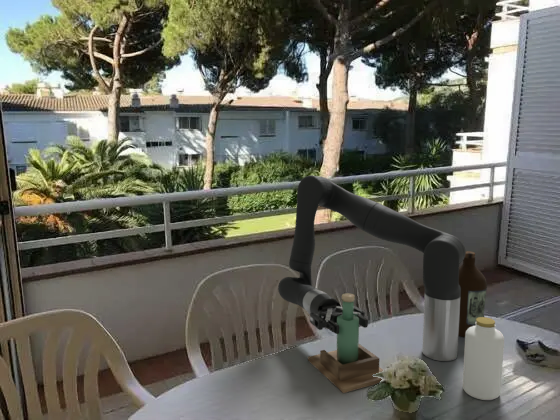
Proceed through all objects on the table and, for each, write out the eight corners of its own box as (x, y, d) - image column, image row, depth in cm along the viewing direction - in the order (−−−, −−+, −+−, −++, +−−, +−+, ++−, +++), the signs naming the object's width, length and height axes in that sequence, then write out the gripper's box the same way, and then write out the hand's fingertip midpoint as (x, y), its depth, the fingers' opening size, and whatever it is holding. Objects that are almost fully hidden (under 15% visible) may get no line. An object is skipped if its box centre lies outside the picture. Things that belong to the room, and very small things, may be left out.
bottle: (343, 358, 127) (343, 290, 123) (362, 364, 123) (363, 294, 120) (332, 367, 122) (333, 296, 119) (352, 373, 119) (353, 300, 116)
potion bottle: (504, 404, 107) (509, 329, 104) (465, 400, 108) (469, 326, 105) (495, 384, 115) (500, 314, 112) (459, 381, 116) (463, 312, 113)
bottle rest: (307, 360, 128) (307, 344, 127) (351, 349, 134) (351, 334, 133) (343, 393, 112) (343, 375, 111) (391, 379, 118) (391, 362, 117)
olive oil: (439, 328, 148) (443, 250, 143) (464, 322, 152) (469, 246, 148) (465, 341, 138) (469, 259, 134) (491, 334, 142) (497, 254, 138)
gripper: (298, 297, 130) (328, 317, 115) (342, 289, 136) (376, 308, 121) (298, 322, 131) (328, 346, 117) (342, 314, 137) (375, 335, 123)
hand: (352, 327), depth 119 cm, fingers open, 8 cm apart
